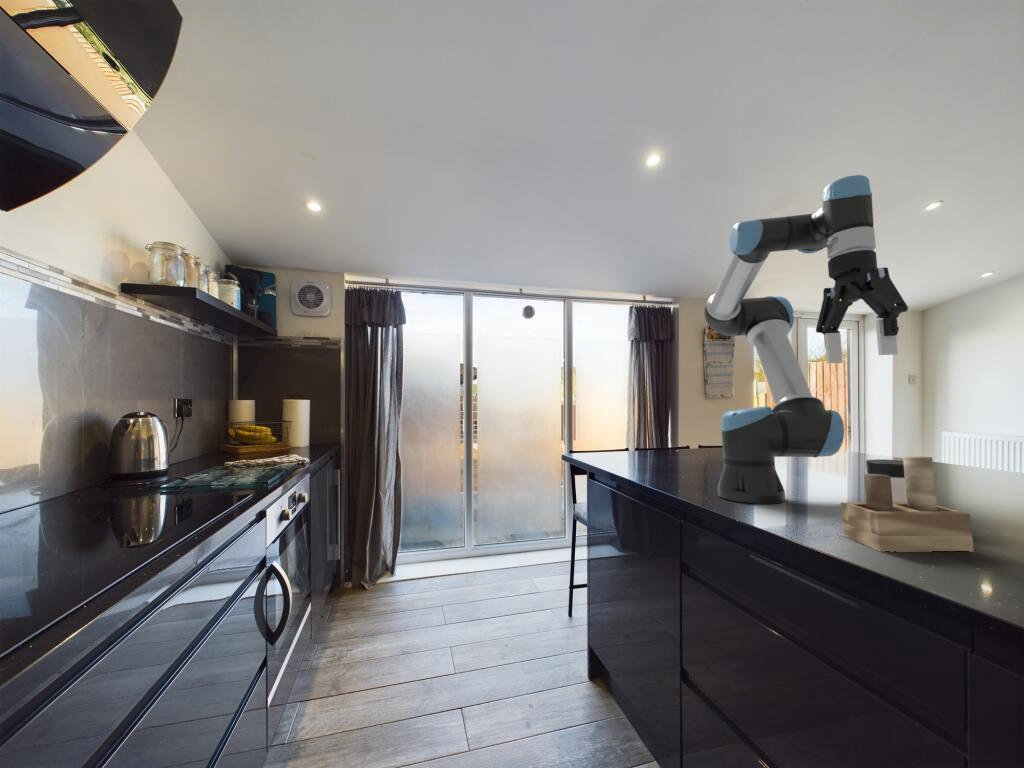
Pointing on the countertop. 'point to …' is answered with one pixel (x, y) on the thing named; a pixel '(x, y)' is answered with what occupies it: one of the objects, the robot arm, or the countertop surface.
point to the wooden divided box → (907, 528)
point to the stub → (878, 492)
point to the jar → (894, 471)
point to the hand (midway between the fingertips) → (859, 359)
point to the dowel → (920, 483)
